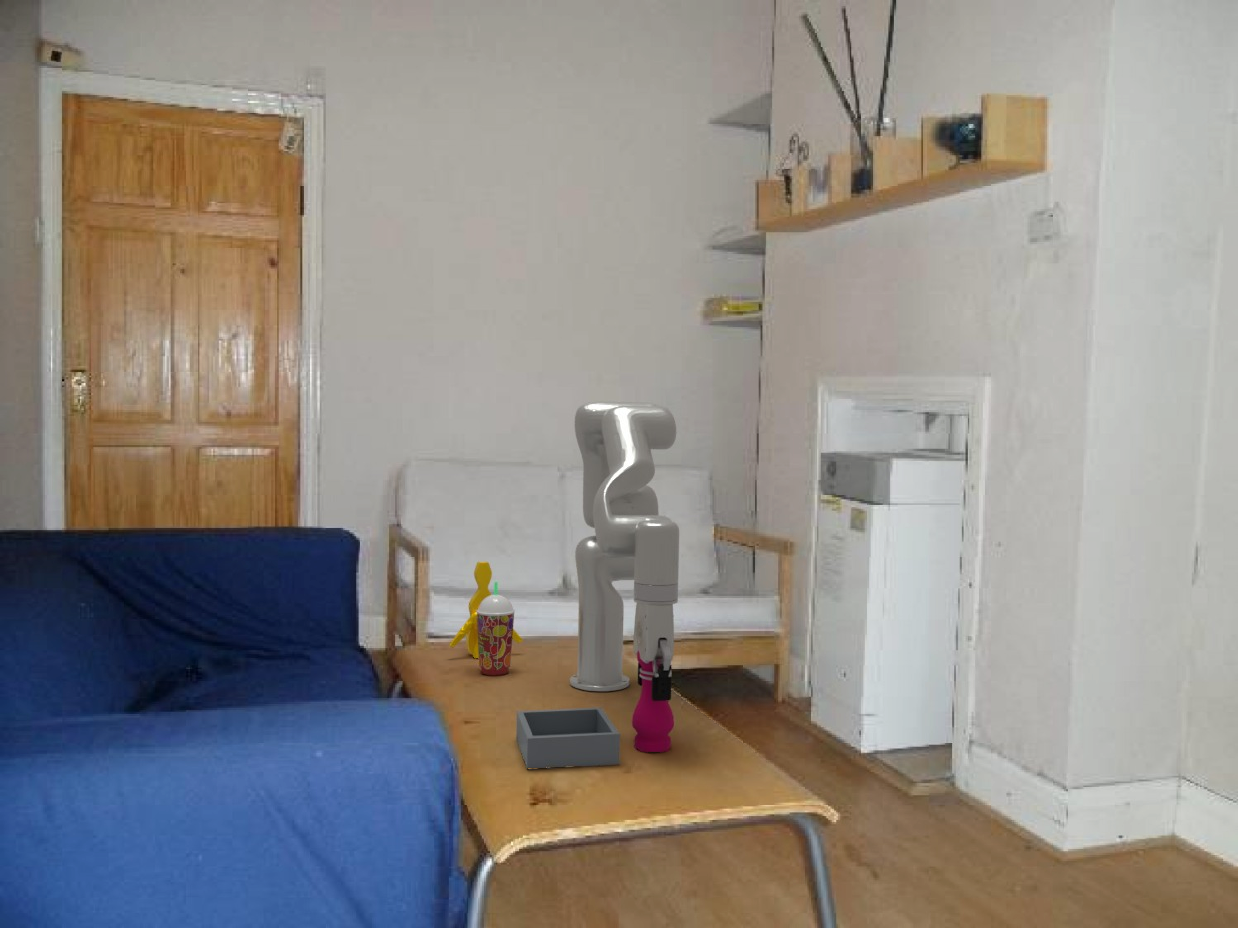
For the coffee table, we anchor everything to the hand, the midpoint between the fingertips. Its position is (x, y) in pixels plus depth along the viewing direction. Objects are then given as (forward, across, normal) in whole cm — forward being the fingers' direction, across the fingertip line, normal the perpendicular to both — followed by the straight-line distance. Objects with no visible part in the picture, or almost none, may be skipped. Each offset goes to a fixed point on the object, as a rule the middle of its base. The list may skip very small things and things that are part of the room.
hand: (653, 692), depth 167 cm
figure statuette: (+9, -70, -23) cm, 74 cm away
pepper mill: (+10, 0, 0) cm, 10 cm away
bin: (+10, 0, -15) cm, 18 cm away
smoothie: (+10, -54, -22) cm, 59 cm away
